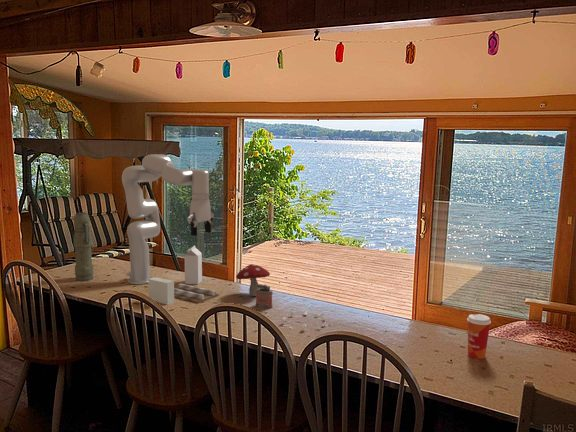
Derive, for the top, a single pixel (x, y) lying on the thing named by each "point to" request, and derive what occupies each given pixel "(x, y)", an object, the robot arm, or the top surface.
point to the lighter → (264, 296)
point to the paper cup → (478, 335)
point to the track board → (193, 293)
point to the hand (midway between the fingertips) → (201, 233)
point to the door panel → (161, 290)
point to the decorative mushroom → (252, 276)
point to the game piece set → (305, 324)
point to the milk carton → (193, 266)
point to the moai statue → (83, 247)
